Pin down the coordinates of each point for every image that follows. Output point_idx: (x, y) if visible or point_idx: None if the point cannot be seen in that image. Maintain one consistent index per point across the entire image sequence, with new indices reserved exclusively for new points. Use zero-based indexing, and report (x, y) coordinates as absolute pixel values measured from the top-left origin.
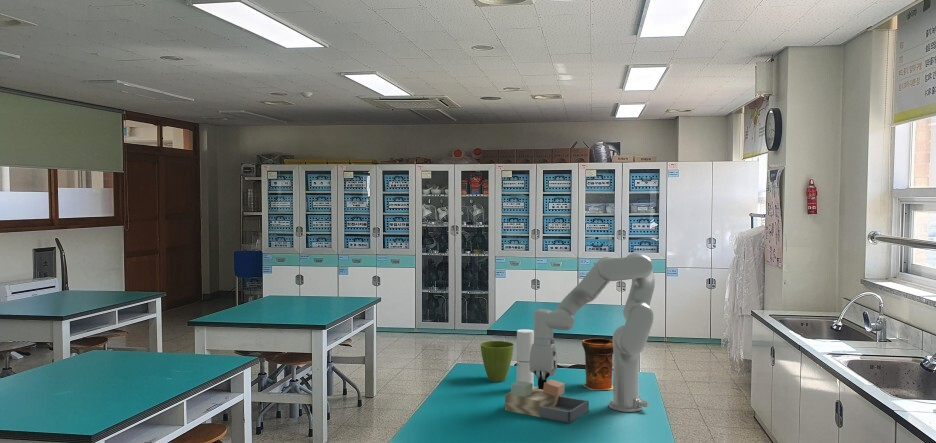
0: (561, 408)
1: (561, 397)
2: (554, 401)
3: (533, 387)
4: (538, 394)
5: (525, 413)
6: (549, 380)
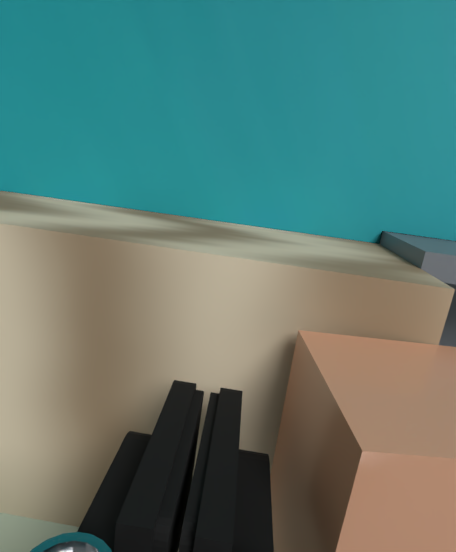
0: None
1: (451, 280)
2: None
3: (17, 277)
4: None
5: None
6: (348, 547)
